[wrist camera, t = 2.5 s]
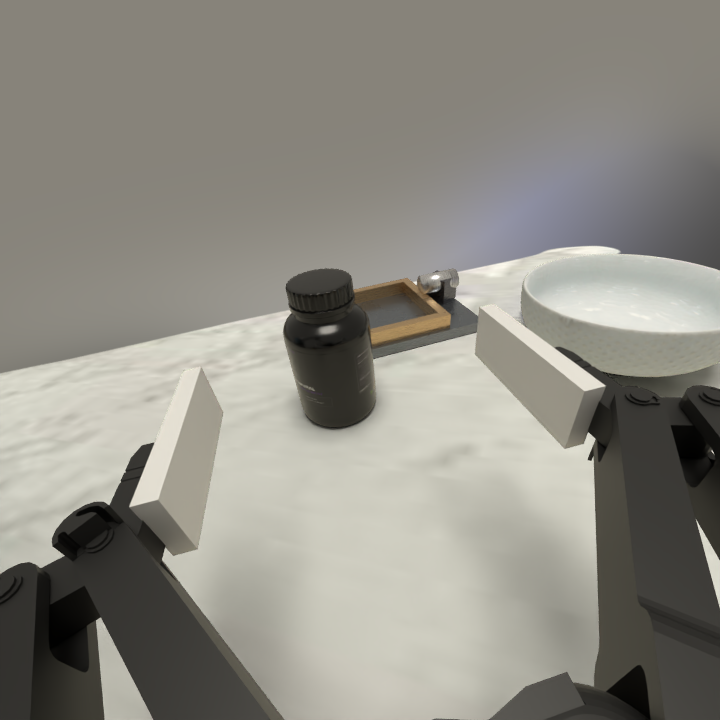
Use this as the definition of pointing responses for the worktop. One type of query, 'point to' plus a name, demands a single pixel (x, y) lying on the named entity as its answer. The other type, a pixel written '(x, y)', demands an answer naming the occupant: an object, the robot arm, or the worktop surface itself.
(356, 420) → the supplement bottle
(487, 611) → the worktop surface
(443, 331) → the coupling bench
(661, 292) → the cereal bowl
